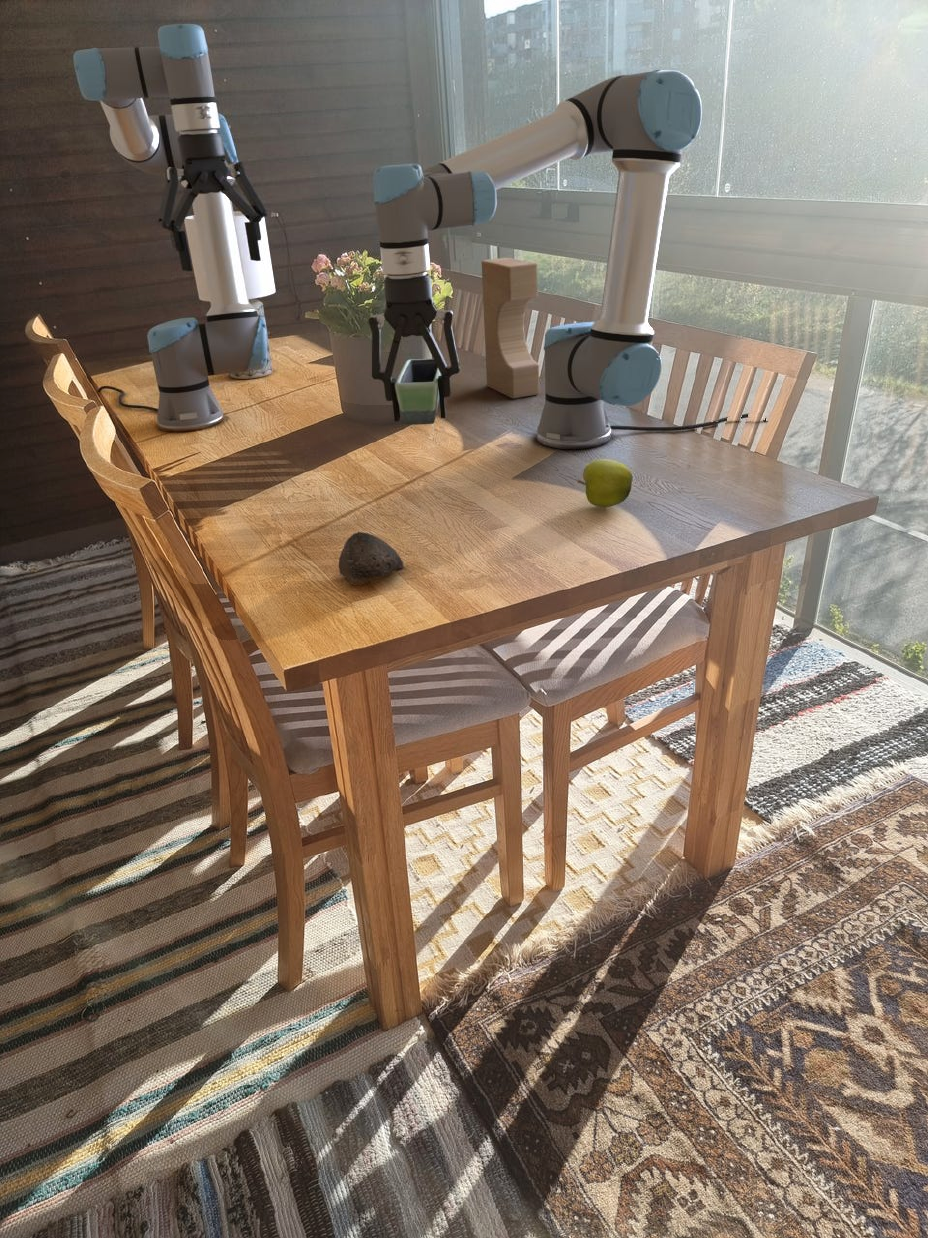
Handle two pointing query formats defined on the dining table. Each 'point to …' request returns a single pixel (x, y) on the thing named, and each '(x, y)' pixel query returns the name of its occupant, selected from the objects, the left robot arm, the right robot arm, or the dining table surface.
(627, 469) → the apple
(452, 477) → the dining table surface
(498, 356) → the decorative block
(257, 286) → the lamp
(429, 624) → the dining table surface
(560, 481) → the dining table surface
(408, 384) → the planter
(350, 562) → the stone
